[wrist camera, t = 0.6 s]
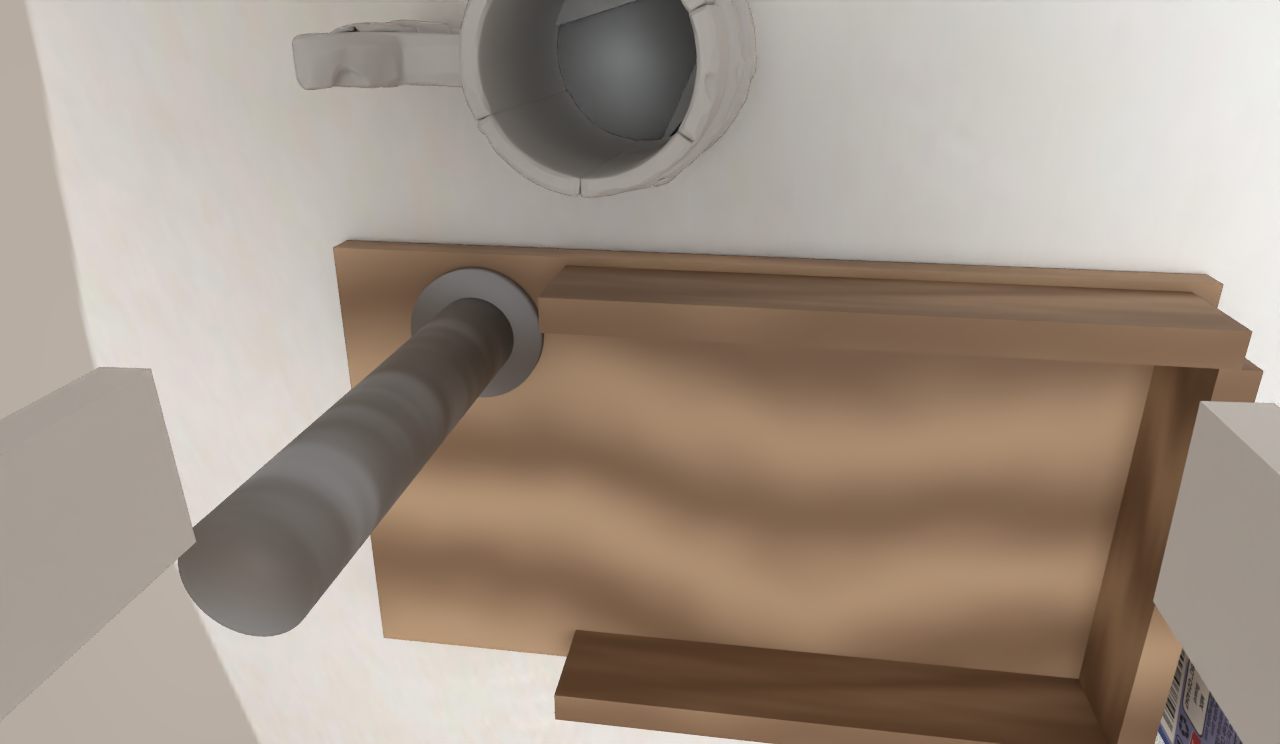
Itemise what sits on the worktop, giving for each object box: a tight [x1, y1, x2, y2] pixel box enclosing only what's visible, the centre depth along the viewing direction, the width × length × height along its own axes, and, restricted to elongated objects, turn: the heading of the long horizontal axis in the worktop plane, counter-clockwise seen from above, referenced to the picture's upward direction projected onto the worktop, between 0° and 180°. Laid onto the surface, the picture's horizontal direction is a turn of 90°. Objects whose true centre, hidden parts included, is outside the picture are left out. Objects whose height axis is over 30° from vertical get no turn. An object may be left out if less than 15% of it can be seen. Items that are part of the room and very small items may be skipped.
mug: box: [292, 0, 756, 198], centre depth 25 cm, size 8×12×12 cm, turn 89°
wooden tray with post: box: [178, 240, 1263, 744], centre depth 27 cm, size 18×31×17 cm, turn 90°
